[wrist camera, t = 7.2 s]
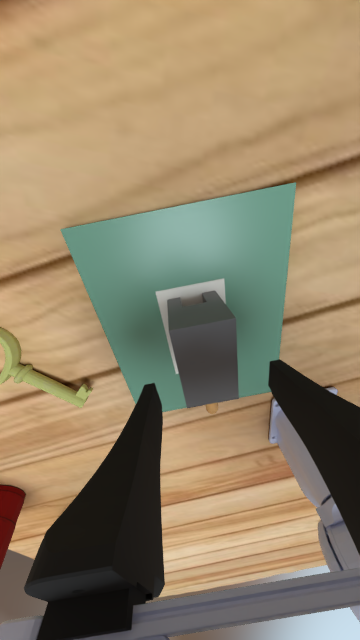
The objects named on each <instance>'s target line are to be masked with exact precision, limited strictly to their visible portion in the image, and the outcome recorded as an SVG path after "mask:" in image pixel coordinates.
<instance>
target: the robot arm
mask: <svg viewBox="0 0 360 640" xmlns="http://www.w3.org/2000/svg"><path fill="white" fill-rule="evenodd" d="M268 386H269V388H270V390H271V392H272V394H273V396H274V399H273V400H272V408H271V420H270V431H269V442H270V443H278V445H279V447H280V449H281V451H282V453H283V455H284V457H285V459H286V461H287V463H288V465H289V467H290V469H291V470H292V472H293V474H294V476H295V478H296V480H297V482H298V484H299V486H300V488H301V490H302V491H303V493H304V494H305V496H306V497H307V498H308V499H309V500H310V501H311V502H312V503H313V504H314V505H315V506H316V507H317V508H316V511H317V513H318V515H319V516H320V518H321V520H320V521H319V522H318V537H319V543H320V546H321V550H322V553H323V555H324V558H325V560H326V563H327V565H328V567H329V569H330V573H323V574H317V575H312V576H305V577H299V578H293V579H288V580H282V581H276V582H270V583H264V584H258V585H252V586H246V587H241V588H235V589H229V590H223V591H217V592H211V593H205V594H199V595H193V596H187V597H181V598H175V599H169V600H163V601H157V602H151V603H145V602H146V601H149V600H153V598H155V597H158V596H159V595H160V593H161V591H162V589H163V587H164V585H165V581H164V564H163V546H162V524H161V495H160V459H161V442H162V425H163V417H162V403H161V400H160V397H159V394H158V391H157V388H156V385H155V383H151V384H145V385H144V387H143V389H142V392H141V394H140V397H139V399H138V401H137V403H136V405H135V408H134V410H133V412H132V414H131V416H130V418H129V420H128V422H127V423H126V425H125V427H124V429H123V431H122V432H121V434H120V436H119V438H118V439H117V441H116V443H115V444H114V446H113V447H112V449H111V451H110V452H109V454H108V455H107V457H106V458H105V459H104V461H103V462H102V464H101V465H100V467H99V468H98V469H97V471H96V472H95V474H94V475H93V476H92V478H91V479H90V480H89V481H88V483H87V484H86V485H85V487H84V488H83V489H82V490H81V492H80V493H79V494H78V496H77V497H76V498H75V499H74V500H73V502H72V503H71V504H70V505H69V506H68V507H67V509H66V510H65V511H64V512H63V513H62V514H61V516H60V517H59V518H58V519H57V520H56V521H55V522H54V524H53V525H52V526H51V527H50V528H49V529H48V530H47V532H46V534H45V536H44V538H43V541H42V543H41V545H40V547H39V550H38V553H37V555H36V558H35V560H34V563H33V566H32V568H31V571H30V573H29V576H28V579H27V581H26V585H25V587H24V590H25V592H26V594H28V595H30V596H32V597H35V598H38V599H41V600H44V601H47V602H48V605H47V608H46V611H45V614H44V616H31V617H25V618H19V619H13V620H8V621H4V622H3V623H2V624H1V625H0V640H169V638H167V637H172V636H178V635H184V634H190V633H196V632H202V631H208V630H214V629H220V628H226V627H233V626H238V625H245V624H250V623H257V622H262V621H269V620H275V619H281V618H287V617H293V616H298V615H305V614H311V613H317V612H322V611H329V610H335V609H341V608H346V607H350V608H351V610H352V611H353V613H354V614H355V616H356V617H357V619H358V620H359V622H360V407H358V406H356V405H354V404H352V403H350V402H348V401H346V400H344V399H343V398H341V397H339V396H337V392H338V390H337V389H336V388H335V387H331V388H326V389H325V388H323V387H322V386H320V385H318V384H317V383H315V382H313V381H312V380H310V379H309V378H307V377H305V376H304V375H302V374H301V373H299V372H298V371H296V370H295V369H293V368H292V367H290V366H289V365H287V364H286V363H284V362H283V361H281V360H280V359H279V360H274V361H270V365H269V380H268Z"/></svg>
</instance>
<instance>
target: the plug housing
mask: <svg viewBox="0 0 360 640" xmlns="http://www.w3.org/2000/svg"><path fill="white" fill-rule="evenodd" d="M202 298H203V303H200V304H195V305H189V306H184V307H182V302H181V298H180V297H178V298H173V299H168V300H167V306H168V327H169V334H170V339H171V343H172V347H173V351H174V355H175V360H176V364H177V368H178V372H179V377H180V381H181V385H182V389H183V393H184V398H185V402H186V406H187V408H191V407H196V406H202V405H206V409H207V411H208V412H209V413H211V414H214V413H216V412H217V410H218V402H223V401H229V400H234V399H239V388H238V359H237V331H236V317H235V316H234V315H233V313H232V312H231V311H230V309H229V308H228V307H227V305H226V304H225V303H224V301H223V300H222V299H221V298H220V296H219V295H218V294H217V292H216V291H210V292H204V293H202Z"/></svg>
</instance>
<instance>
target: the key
mask: <svg viewBox="0 0 360 640" xmlns="http://www.w3.org/2000/svg"><path fill="white" fill-rule="evenodd" d="M0 343H1V344H2V346H3V348H4V351H5V357H6V360H5V365H4V368H3V371H2V373H1V374H0V384H2V383H4V382H5V381H6V380H8V379H9V378H10V377H11V376H13V377H15V378H14V382H15V383H17V384H18V383H21V382H22V381H24V382H26V383H28V384H30V385H33V386H35V387H37V388H39V389H41V390H43V391H46V392H48V393H50V394H52V395H54V396H56V397H59V398H61V399H63V400H65V401H67V402H69V403H72V404H74V405H76V406H78V407H80V408H82V406H83V405H84V403H85V402H86V400H87V398H88V396H89V394H90V393H91V392H92V390H93V388H90V389H88V387H87V385H85V384H83V385H82V386H81V388H80V389H79V391H78V392H77V391H75V390H73V389H71V388H69V387H67V386H65V385H63V384H61V383H59V382H57V381H55V380H53V379H51V378H48V377H46V376H44V375H42V374H40V373H38V372H36V371H34V370H32V369H33V366H32V365H30V364H28V365H26V366H24V365H22V364H19V362H20V359H21V348H20V345H19V342H18V340H17V339H16V338H15V337H14V336H13V334H11V333H10V332H9V331H7V330H5V329H3V328H1V327H0Z"/></svg>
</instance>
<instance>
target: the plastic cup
mask: <svg viewBox="0 0 360 640" xmlns="http://www.w3.org/2000/svg"><path fill="white" fill-rule="evenodd" d="M24 498H25V493H24V492H23V491H22V490H20V489H18V488H15V487H12V486H4V485H0V569H1V566H2V563H3V561H4V558H5V555H6V552H7V549H8V546H9V544H10V541H11V538H12V535H13V532H14V529H15V525H16V522H17V519H18V516H19V514H20V511H21V508H22V506H23V503H24Z"/></svg>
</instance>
